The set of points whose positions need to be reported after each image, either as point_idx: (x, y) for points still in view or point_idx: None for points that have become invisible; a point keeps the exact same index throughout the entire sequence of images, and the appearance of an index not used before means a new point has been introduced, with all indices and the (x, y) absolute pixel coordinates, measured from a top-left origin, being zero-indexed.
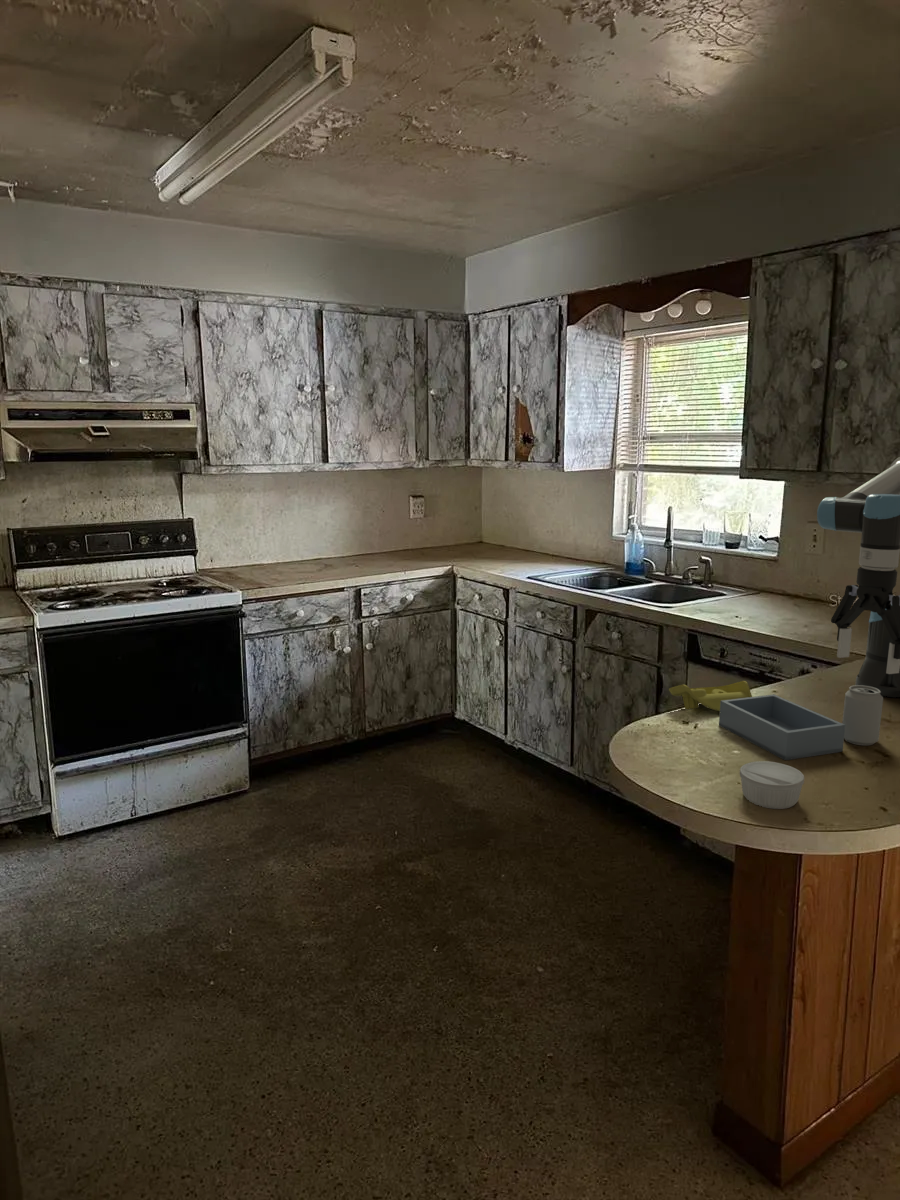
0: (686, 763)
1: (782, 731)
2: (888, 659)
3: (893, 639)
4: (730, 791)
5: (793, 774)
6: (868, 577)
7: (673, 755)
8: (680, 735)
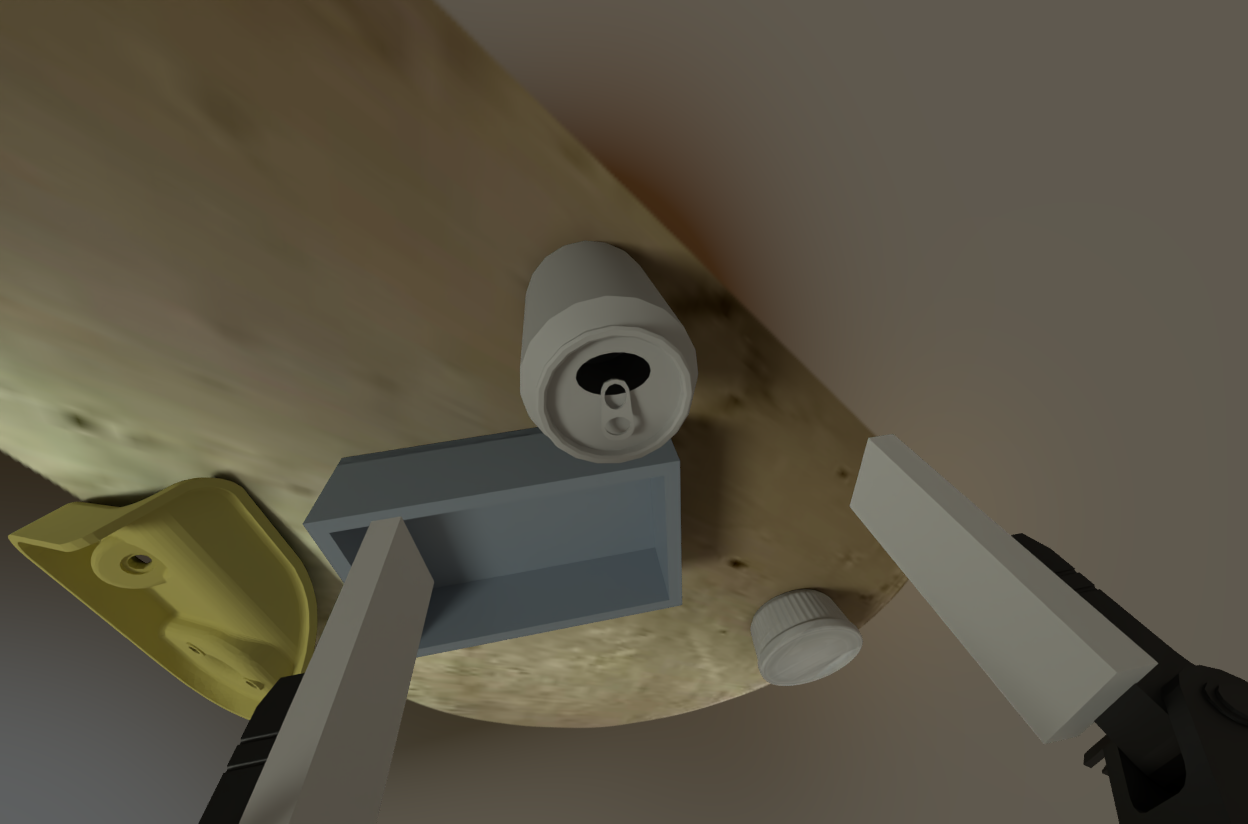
0: (625, 670)
1: (663, 606)
2: (923, 586)
3: (1132, 790)
4: (744, 645)
5: (836, 638)
6: None
7: (586, 678)
8: (483, 657)
